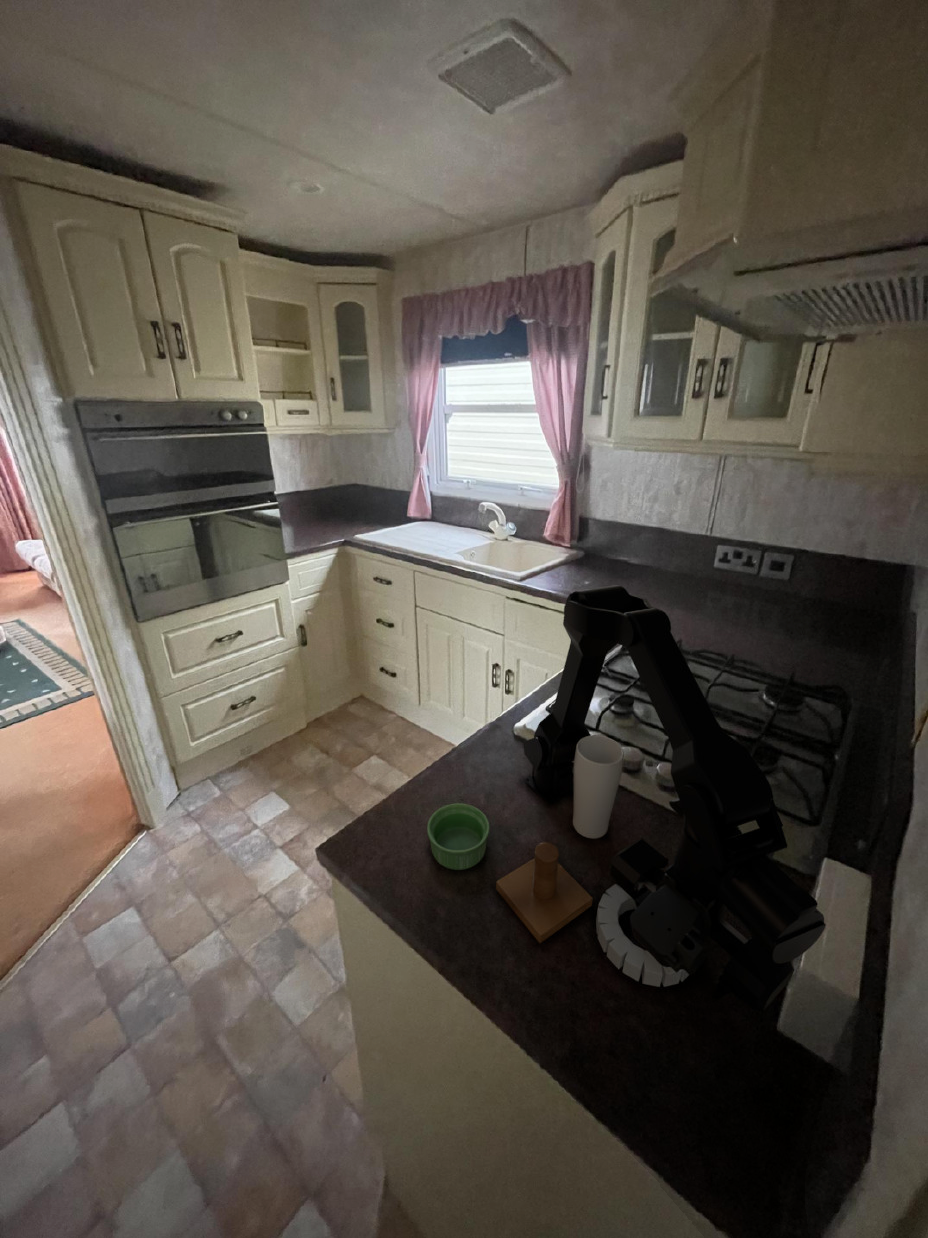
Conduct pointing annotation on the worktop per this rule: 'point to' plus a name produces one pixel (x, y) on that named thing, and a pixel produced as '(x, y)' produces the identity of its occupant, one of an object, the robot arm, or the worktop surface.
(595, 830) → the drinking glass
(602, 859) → the worktop surface
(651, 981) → the segmented block ring
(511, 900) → the wooden peg stand
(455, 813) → the ramekin
